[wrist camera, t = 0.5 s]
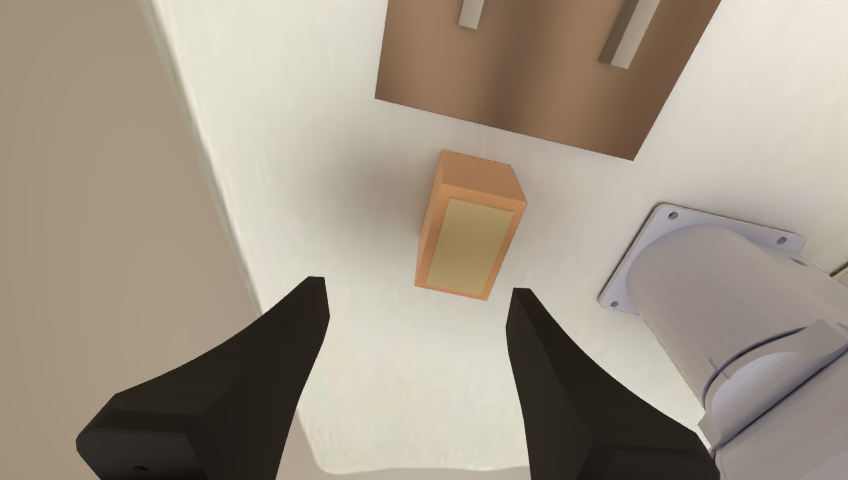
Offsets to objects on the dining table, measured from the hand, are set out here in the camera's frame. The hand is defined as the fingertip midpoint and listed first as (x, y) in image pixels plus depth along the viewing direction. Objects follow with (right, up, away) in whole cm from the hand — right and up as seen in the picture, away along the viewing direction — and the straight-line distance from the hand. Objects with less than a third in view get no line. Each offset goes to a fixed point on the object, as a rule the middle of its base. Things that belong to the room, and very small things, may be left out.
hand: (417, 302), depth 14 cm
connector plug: (+3, +5, +8) cm, 10 cm away
